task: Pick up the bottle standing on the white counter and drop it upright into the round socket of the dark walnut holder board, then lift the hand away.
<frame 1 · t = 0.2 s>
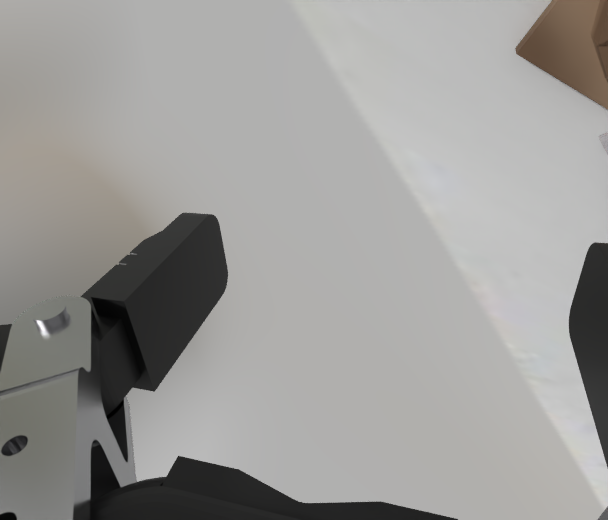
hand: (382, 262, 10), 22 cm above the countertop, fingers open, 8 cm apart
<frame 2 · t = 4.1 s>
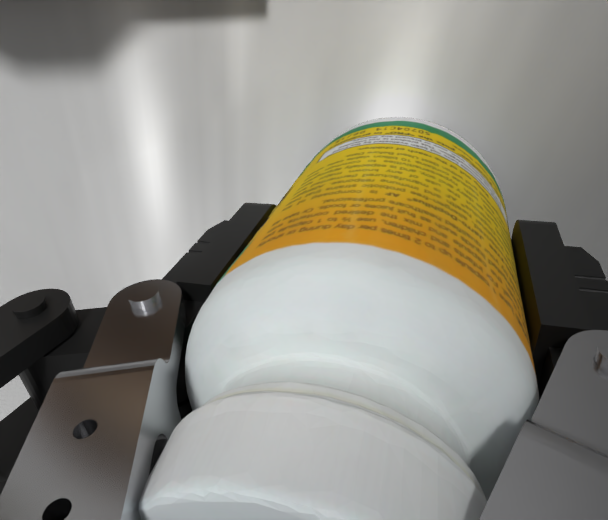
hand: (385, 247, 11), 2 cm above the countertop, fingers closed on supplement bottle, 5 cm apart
supplement bottle: (397, 207, 13), on the countertop, touching gripper
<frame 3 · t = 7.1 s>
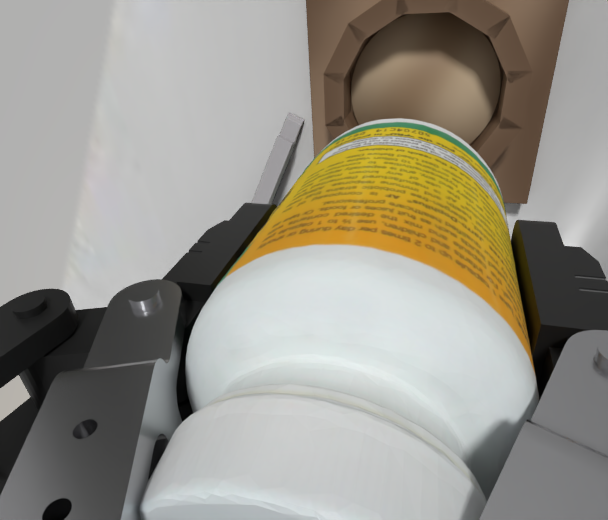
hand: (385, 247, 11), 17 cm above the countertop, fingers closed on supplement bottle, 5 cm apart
caliper: (251, 243, 34), on the countertop
supplement bottle: (397, 208, 13), point 15 cm above the countertop, touching gripper
bottle holder: (423, 86, 25), on the countertop
when the fingers open (5 cm above the countertop, at t = 10.3 s): supplement bottle drops 1 cm, resting on bottle holder.
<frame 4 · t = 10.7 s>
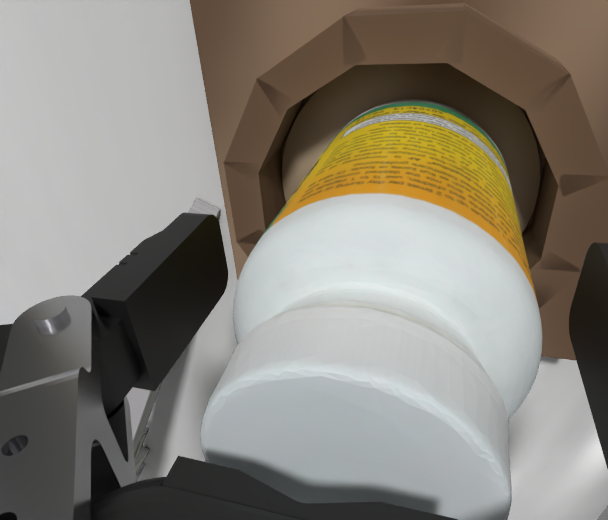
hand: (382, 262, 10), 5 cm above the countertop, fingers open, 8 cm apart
caliper: (168, 360, 24), on the countertop
supplement bottle: (409, 184, 14), point 1 cm above the countertop, touching bottle holder
bottle holder: (405, 172, 15), on the countertop
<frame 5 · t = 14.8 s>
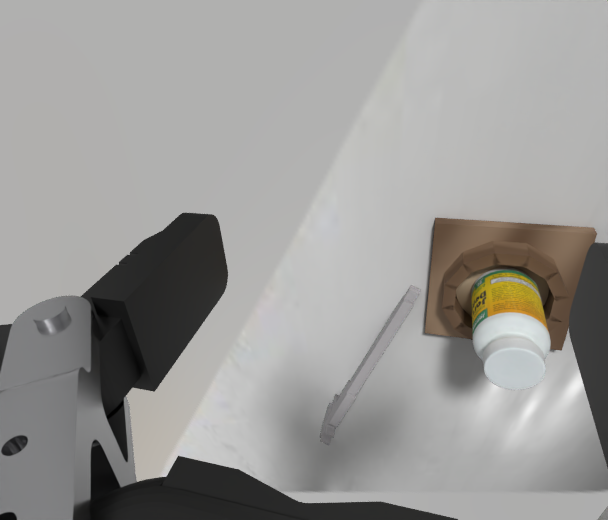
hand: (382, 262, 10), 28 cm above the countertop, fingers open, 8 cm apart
caliper: (369, 351, 51), on the countertop
supplement bottle: (503, 289, 40), point 1 cm above the countertop, touching bottle holder
bottle holder: (499, 282, 41), on the countertop
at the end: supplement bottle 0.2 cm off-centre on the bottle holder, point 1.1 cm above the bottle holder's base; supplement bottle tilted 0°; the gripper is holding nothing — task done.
